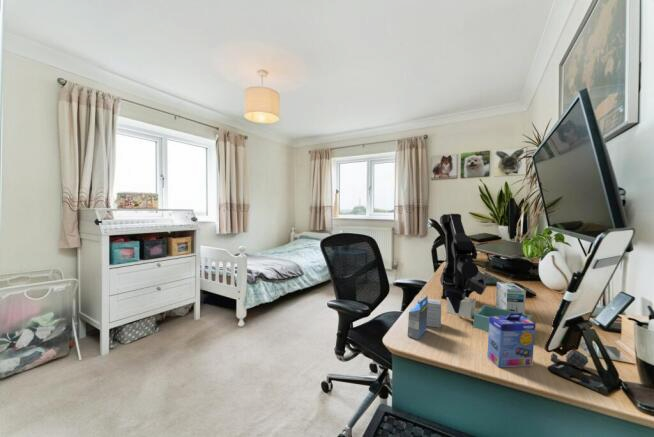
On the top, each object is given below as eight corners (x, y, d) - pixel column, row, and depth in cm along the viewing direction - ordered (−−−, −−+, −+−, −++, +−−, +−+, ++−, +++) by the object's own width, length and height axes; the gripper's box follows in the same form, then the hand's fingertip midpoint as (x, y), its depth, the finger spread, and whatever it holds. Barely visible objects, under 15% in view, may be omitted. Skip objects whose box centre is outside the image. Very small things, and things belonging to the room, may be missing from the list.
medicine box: (440, 323, 100) (440, 299, 100) (440, 328, 96) (441, 304, 95) (417, 320, 103) (417, 297, 102) (417, 325, 98) (417, 301, 98)
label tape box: (415, 326, 97) (416, 292, 96) (427, 330, 95) (428, 295, 94) (407, 336, 90) (407, 299, 89) (419, 340, 87) (420, 302, 87)
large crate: (473, 328, 97) (473, 314, 97) (483, 317, 106) (483, 304, 106) (525, 343, 87) (526, 327, 86) (531, 329, 96) (531, 315, 96)
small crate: (446, 312, 110) (446, 297, 110) (451, 308, 115) (451, 294, 115) (470, 318, 104) (471, 303, 104) (475, 314, 109) (475, 299, 108)
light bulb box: (525, 318, 105) (526, 290, 105) (505, 316, 106) (507, 289, 106) (512, 307, 116) (513, 282, 115) (494, 306, 117) (495, 281, 116)
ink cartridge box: (499, 368, 72) (502, 315, 72) (485, 357, 78) (487, 307, 77) (534, 367, 73) (537, 314, 72) (518, 355, 79) (520, 306, 78)
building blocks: (588, 362, 71) (553, 339, 75) (574, 376, 73) (541, 353, 77) (587, 356, 74) (553, 335, 78) (573, 370, 75) (541, 349, 80)
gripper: (477, 279, 96) (476, 323, 97) (490, 270, 110) (489, 308, 111) (445, 274, 104) (444, 314, 105) (461, 266, 118) (460, 301, 118)
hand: (460, 309), depth 110 cm, fingers open, 9 cm apart
